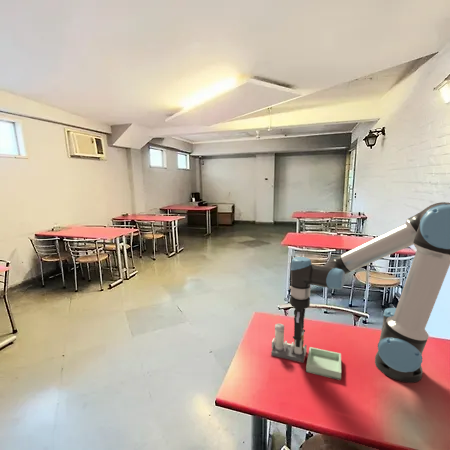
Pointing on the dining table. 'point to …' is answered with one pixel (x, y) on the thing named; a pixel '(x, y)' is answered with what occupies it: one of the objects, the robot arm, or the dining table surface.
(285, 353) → the block
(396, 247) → the robot arm
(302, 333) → the fuse
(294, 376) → the dining table surface
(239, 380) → the dining table surface
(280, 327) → the cylinder
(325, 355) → the parts tray
